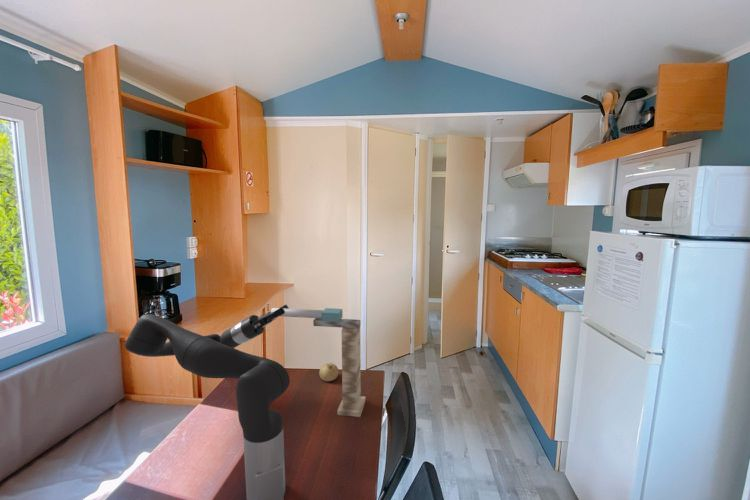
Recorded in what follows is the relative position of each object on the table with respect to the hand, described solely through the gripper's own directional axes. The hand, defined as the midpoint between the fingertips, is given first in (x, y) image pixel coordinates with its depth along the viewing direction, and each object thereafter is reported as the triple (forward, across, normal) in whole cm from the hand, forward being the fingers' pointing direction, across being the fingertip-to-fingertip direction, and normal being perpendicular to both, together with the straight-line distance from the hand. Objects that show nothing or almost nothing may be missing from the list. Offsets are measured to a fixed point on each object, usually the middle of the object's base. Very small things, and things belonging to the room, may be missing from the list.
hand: (285, 308), depth 118 cm
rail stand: (-1, 0, +40) cm, 40 cm away
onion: (-9, +18, +36) cm, 41 cm away
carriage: (+5, 0, +6) cm, 8 cm away
